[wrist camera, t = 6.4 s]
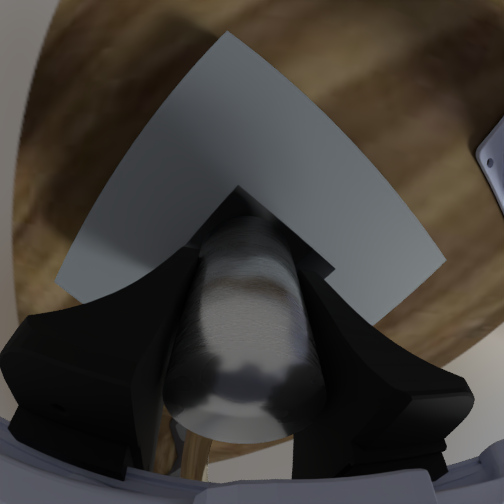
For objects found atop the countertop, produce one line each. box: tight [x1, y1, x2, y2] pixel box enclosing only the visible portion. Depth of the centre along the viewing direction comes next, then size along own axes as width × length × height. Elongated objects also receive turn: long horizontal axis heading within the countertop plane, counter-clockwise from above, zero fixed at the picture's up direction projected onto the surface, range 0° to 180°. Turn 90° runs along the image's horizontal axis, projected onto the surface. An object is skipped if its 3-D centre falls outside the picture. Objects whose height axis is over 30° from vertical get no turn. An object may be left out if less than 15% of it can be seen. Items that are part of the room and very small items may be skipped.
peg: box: [162, 216, 327, 444], centre depth 9 cm, size 4×4×7 cm
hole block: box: [54, 31, 446, 326], centre depth 13 cm, size 12×12×3 cm
